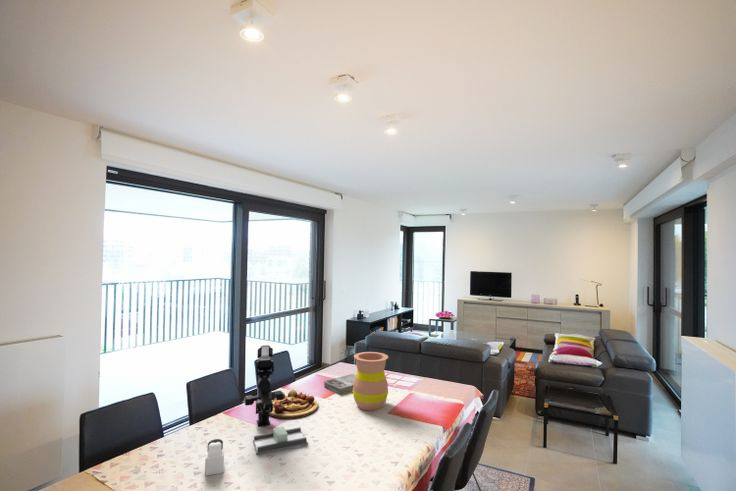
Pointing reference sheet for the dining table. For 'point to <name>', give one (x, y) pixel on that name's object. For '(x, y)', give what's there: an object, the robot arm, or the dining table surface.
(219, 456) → the white handled block
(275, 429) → the block
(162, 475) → the dining table surface
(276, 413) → the wooden plate with food
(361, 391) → the vase
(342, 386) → the hard drive
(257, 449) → the rail board
